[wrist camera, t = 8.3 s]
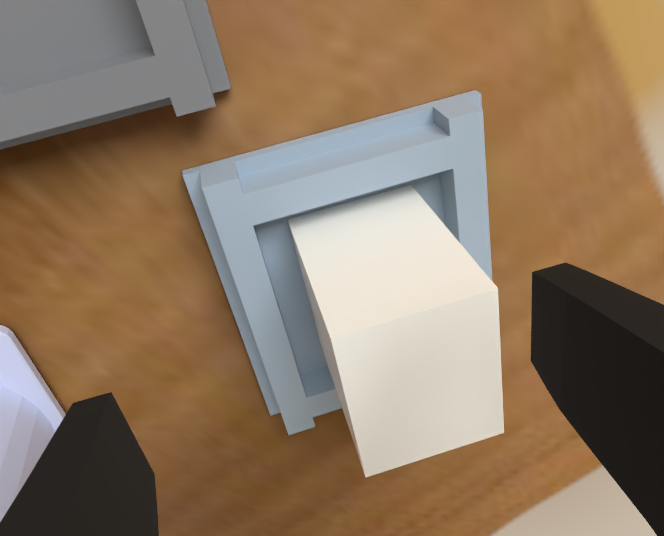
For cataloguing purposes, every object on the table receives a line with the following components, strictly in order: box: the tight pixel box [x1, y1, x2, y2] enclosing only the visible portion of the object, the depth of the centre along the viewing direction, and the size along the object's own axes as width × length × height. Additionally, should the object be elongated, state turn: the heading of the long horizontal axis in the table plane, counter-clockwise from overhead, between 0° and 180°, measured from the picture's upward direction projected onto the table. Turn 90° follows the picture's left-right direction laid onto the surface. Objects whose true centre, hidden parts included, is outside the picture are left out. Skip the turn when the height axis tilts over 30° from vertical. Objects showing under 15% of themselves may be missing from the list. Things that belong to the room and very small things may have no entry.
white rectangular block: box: [287, 185, 504, 477], centre depth 17 cm, size 4×5×6 cm
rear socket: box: [183, 90, 492, 435], centre depth 20 cm, size 9×10×2 cm
